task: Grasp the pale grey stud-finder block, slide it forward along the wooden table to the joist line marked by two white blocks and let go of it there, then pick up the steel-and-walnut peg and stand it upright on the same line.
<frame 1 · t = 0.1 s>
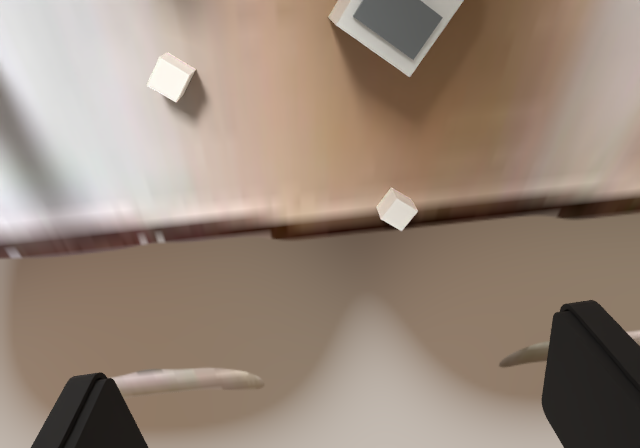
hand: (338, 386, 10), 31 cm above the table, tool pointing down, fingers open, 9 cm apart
rounded white cube: (175, 74, 36), on the table
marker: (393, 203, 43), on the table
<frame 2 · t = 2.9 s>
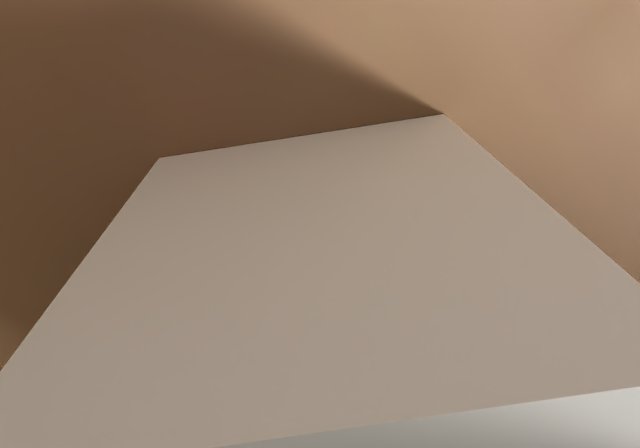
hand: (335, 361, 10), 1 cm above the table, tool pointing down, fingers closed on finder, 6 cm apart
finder: (331, 320, 12), on the table, touching gripper
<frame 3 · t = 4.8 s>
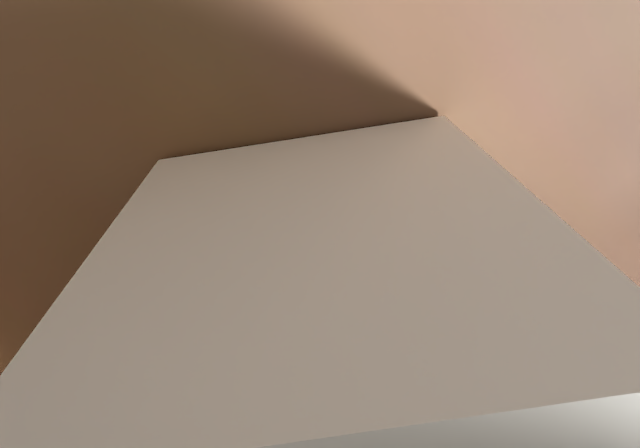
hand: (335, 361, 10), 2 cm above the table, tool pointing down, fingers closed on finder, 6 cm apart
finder: (331, 322, 12), on the table, touching gripper
when the fingers open (2 cm above the table, at t = 6.8 s): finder stays where it is, on the table.
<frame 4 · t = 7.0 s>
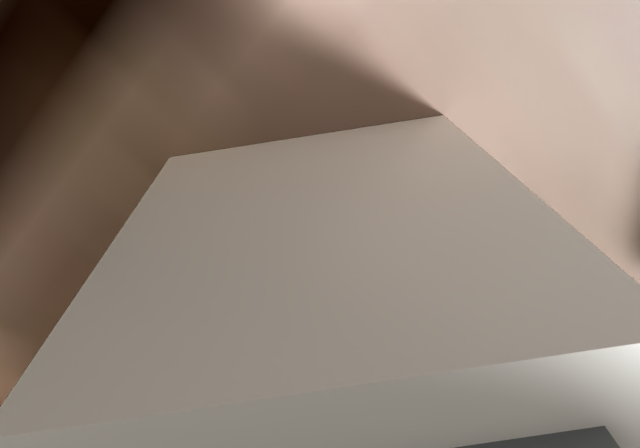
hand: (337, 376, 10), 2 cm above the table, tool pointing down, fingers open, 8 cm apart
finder: (334, 312, 12), on the table
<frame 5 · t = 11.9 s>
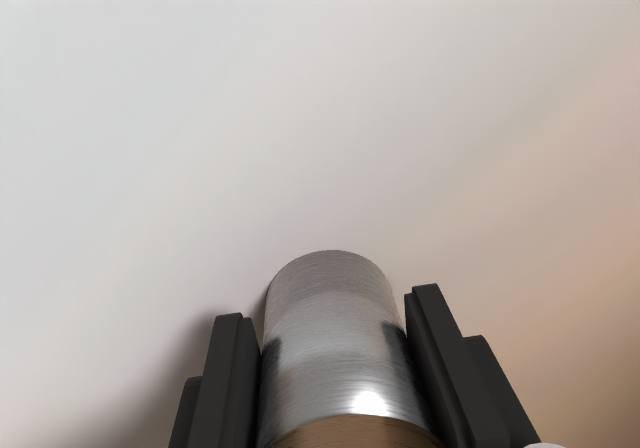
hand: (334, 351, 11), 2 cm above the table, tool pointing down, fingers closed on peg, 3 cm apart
peg: (329, 303, 12), on the table, touching gripper
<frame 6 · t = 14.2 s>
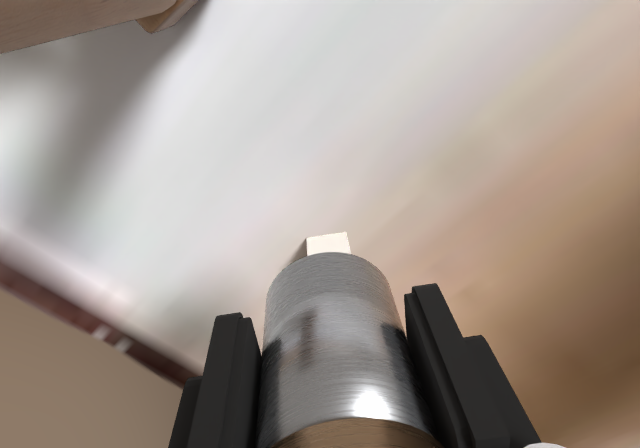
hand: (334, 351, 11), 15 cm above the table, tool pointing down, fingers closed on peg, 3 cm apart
rounded white cube: (328, 251, 28), on the table
peg: (329, 305, 12), point 14 cm above the table, touching gripper
when the fingers open (3 cm above the table, at t = 16.6 s): peg drops 1 cm, on the table.
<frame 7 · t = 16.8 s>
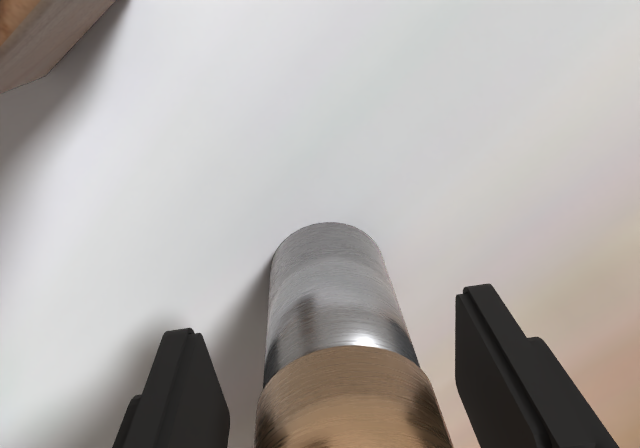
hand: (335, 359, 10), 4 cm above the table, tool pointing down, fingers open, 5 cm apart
peg: (327, 272, 14), on the table
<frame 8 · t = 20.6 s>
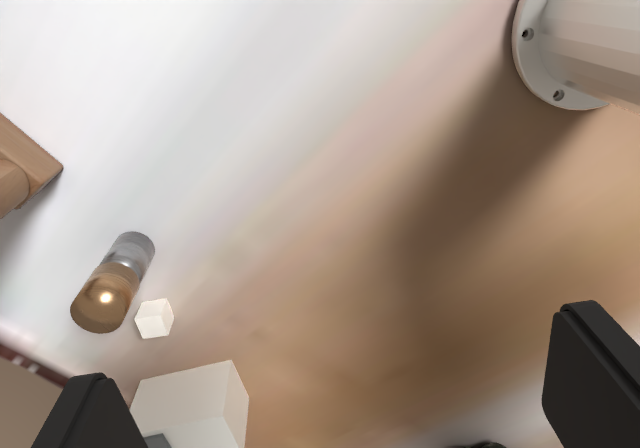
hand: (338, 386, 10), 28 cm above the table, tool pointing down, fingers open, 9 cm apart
rounded white cube: (158, 309, 43), on the table
peg: (135, 248, 40), on the table
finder: (196, 388, 49), on the table
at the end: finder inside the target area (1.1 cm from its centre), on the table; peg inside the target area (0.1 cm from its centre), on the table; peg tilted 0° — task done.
